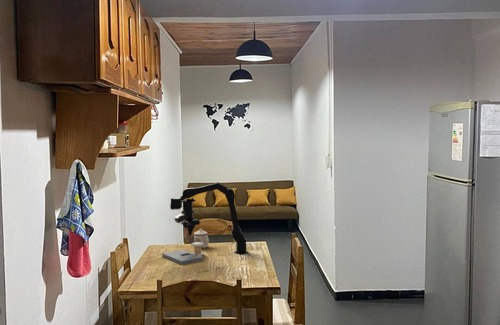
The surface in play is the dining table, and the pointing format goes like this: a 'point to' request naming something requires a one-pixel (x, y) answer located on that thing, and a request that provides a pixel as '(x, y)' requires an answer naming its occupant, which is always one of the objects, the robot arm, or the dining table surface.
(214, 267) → the dining table surface
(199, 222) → the robot arm
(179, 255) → the slotted board
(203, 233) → the white printed mug
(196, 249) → the spool
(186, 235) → the brown rectangular block
